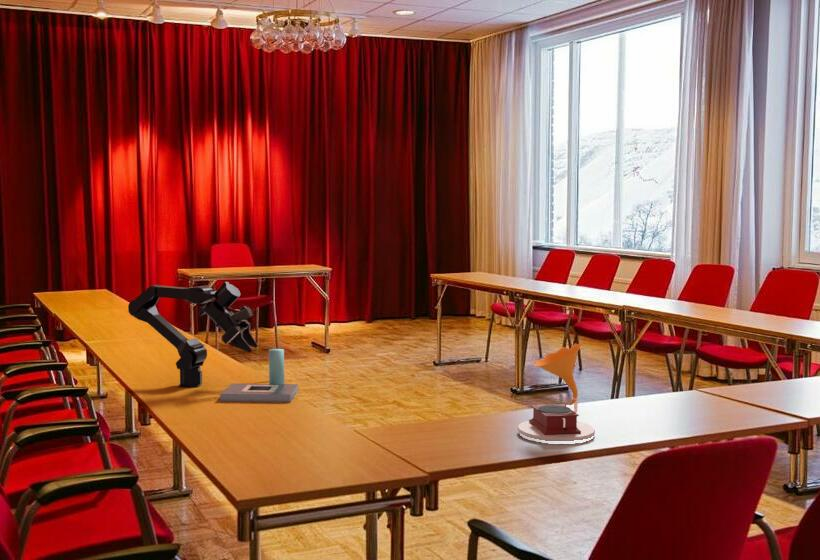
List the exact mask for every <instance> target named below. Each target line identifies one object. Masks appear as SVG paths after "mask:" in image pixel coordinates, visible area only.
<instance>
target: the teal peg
mask: <svg viewBox="0 0 820 560" xmlns="http://www.w3.org/2000/svg"><path fill="white" fill-rule="evenodd" d="M268 377H269V378H268V379H269V382H268V384H285V349H284V348H270V349H268Z"/></svg>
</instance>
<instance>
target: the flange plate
mask: <svg viewBox="0 0 820 560" xmlns="http://www.w3.org/2000/svg"><path fill="white" fill-rule="evenodd" d="M297 394H299V384H298V383H284V384H269V383H237V382H236V383H231V384H230V385H228V386H227V387H226V388H225V389H224V390H223V391H222V392H220V393H219V402H220V403H223V402H227V403H231V402H232V403H291V402H292V400H293V399H294V398H295V397H296V395H297Z"/></svg>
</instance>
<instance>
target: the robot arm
mask: <svg viewBox="0 0 820 560" xmlns="http://www.w3.org/2000/svg"><path fill="white" fill-rule="evenodd" d="M240 296H241V292H240V290H239V288H237V287H236V286H235V285H233V284H231V283H230V282H229V281H224V282H223V283H222V284H221V286H220V287H219V288H218V289H213V288H212V287H211V286H210V285H200V286H191V287H182V286H181V287H180V286H171V285H170V286H168V285H160V284H155V285H150V286H148V287H147V288H146V289H145V291H143V292H142V293H140V294H139V295H138V296H136V298H134V299H132V300H131V301H130V302H129V303H128V307H127V308H128V309H127V310H128V311H127V312H128V313H129V315H131V316H132V317H134V318H135V319H137V320H138V321H140V322H141V321H142V322H144V323H146V324H148V325H150V327H151V328H153V329H154V330H155V331H157V333H158V334H160V335H161V336H162V337H163V338H164V339H165V340H167V342H169V344H171V345H172V346H173V347H175V349H176V350H177V352H178V356H179V357H180V358H179V359H178V360H177V361H176V362H175V366H176V369H177V370H179V385H178V388H179V387H180V388H194V387H195V388H198V387H200V386H201V385H202V384H203V371H202V370H201V367H203V365H204V363H205V361H206V359H207V357H208V350H207V348H206V345H205V344H204V343H202V342H200V341H199V339H197V337H196V338H191V339H189V338H187V337H186V336H185V335H184V334H183V333H181V332H180V331H179V330H178V329H177V328H176V327H174V326H173V325H172V324H171V323H170V322H169V321H167V320H166V318H164V317H163V316H162V315H161V314H160V313H159V311H158V308H157V306H156V305H157V304H158V302H159V299H160V298H166V299H177V300H184V301H187V302H189V303H192V304H195V305H200V304H201V305H202V304H205V305H204V306H200V307H199V308H198V311H199V312H198V313H199V314H198V316H199V317H202V316H203V315H207V317H209V318H210V320H212V321H213V323H215V327H216V328H220V329H221V330H222V331H223V332H224V333H223V335H221V341H222V342H223V343H224V344H225V345H228V346H232V347H235V348H238V349H240V350H242V351H244V352H248V353H252V351H253V349H252V347H253V348H254V349H256V348H258V347H259V346H258V343H257V341H256V340H255V339H254V336H253V335H252V333H251V322H249V321H248V319H249V318H251V317H252V316H254V314H253V313H252V309H251V308H250V307H247V306H246V305H243V306H241V307H240V308H239V311H238V312H233V311H229V310H227V309H226V308H230V307H231V306H232V305H233V304H234V303H235V302H236V301H237V300H238V299H239V297H240ZM213 299H214V300H213Z"/></svg>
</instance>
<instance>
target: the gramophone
mask: <svg viewBox="0 0 820 560" xmlns="http://www.w3.org/2000/svg"><path fill="white" fill-rule="evenodd" d="M582 346H583V342H581V343H577V342H575V343H574V344H573V345H572V346H571V347H570V348H568V347H564V346H561V347H560V348H559V349H558V350H557V351H556V352H550V353H546V355H545V356H544V357H543V359H538V360H537V359H536V360H535V363H534V364H532V366H534V367H539V368H540V369H542V370H544V371H546V372H548V373H550V374H553V375H555V376H557V377H558V378H561V379H562V380H563V382H564V383H565V384H567V386H568V387H569V388H568V389H570V390H571V393H572V397H571V402H570V403H567V401H564V404H563V403H561V404H533V405H531V407H532V409H533V412H532V418H531V419H529V420H526V421H522V422H521V423H519V424H518V426H517V432H518V431H519V433H521V434H523V435H525V436H527V437H530V438H534V439H539V440H545V441H574V440H583V439H588V438H591V437H592V436H594V434H596V433H595V432H596V431H595V430H596V429H595V428H594V426H592V425H590V424H588V423H585V422H582V421H578V420H577V419H578V417H579V416H580V414H578V413H577V412H578V401H579V399H578V394H579V392H578V388H577V383H576V381H575V379H574V375H573V373H574V367H575V364H576V361H577V357H578V354H579V353H578V352H579V351H580V349H581V347H582ZM567 405H568V406H572V405H573V408H574V410H572V409H571V408H570V407H568V406H567Z"/></svg>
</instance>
